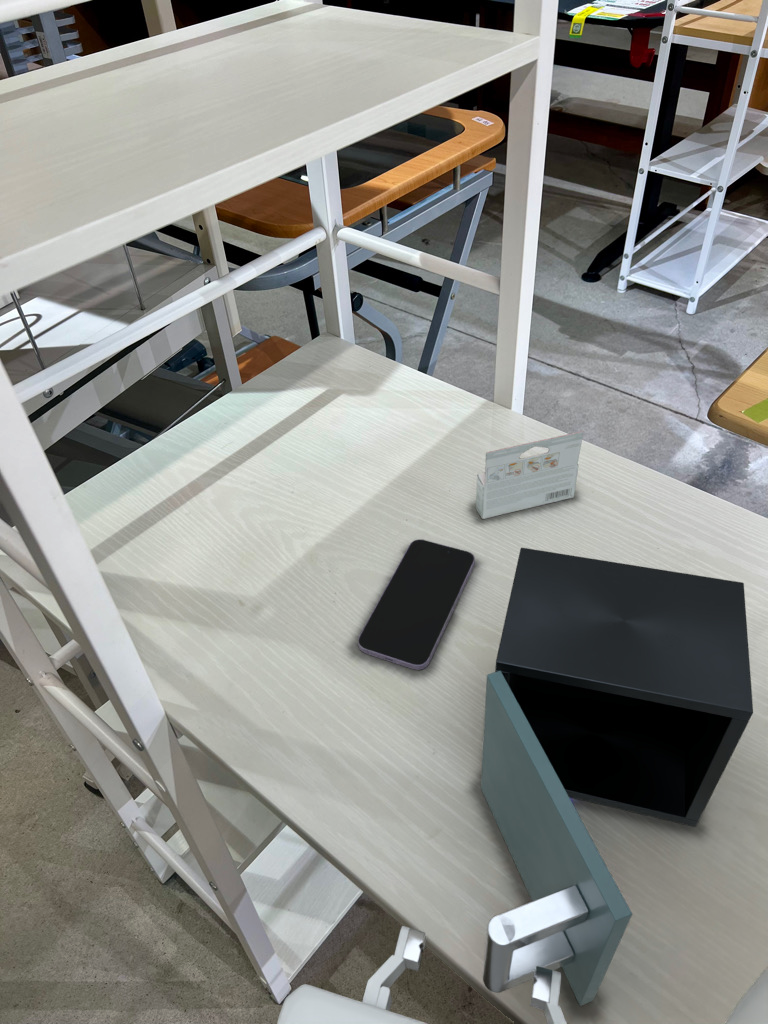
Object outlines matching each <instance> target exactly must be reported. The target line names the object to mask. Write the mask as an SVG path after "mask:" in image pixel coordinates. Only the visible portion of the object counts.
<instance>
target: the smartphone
mask: <svg viewBox="0 0 768 1024" xmlns="http://www.w3.org/2000/svg"><path fill="white" fill-rule="evenodd" d="M475 563H476V558H475V555H474V554H473V553H472V552H471V551H469V550H468V551H467V550H465V549H460V548H457V547H452V546H449V545H445V544H441V543H438V542H434V541H430V540H426V539H421V538H420V539H415V540H412V542H410V544H409V545H408V547H407V548H406V551H405V553H404V554H403V556H402V557H401V559H400V562H399V563H398V565H397V566H396V569H395V570H394V573H393V574H392V576H391V578H390V580H389V581H388V583H387V585H386V587H385V589H384V590H383V591H382V594H381V596H380V597H379V599H378V601H377V603H376V605H375V607H374V609H373V610H372V612H371V614H370V616H369V618H368V619H367V620H366V623H365V625H364V627H363V628H362V630H361V632H360V634H359V636H358V639H357V646H358V649H359V650H360V652H362V653H363V654H366V655H369V656H372V657H374V658H377V659H381V660H384V661H387V662H389V663H393V664H396V665H399V666H402V667H405V668H409V669H411V670H415V671H416V670H417V671H421V670H424V669H426V668H427V667H428V666H429V665H430V663H431V661H432V658H433V656H434V654H435V652H436V650H437V648H438V645H439V643H440V641H441V639H442V636H443V635H444V632H445V631H446V628H447V626H448V625H449V622H450V620H451V617H452V615H453V613H454V611H455V609H456V606H457V604H458V602H459V600H460V598H461V596H462V594H463V592H464V589H465V588H466V585H467V582H468V580H469V578H470V576H471V574H472V573H473V570H474V568H475Z"/></svg>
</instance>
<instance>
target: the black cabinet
mask: <svg viewBox="0 0 768 1024" xmlns="http://www.w3.org/2000/svg"><path fill="white" fill-rule="evenodd" d="M515 567H516V568H515V572H514V576H513V581H512V584H511V585H512V586H511V592H510V595H509V600H508V603H507V608H506V613H505V618H504V623H503V628H502V632H501V637H500V641H499V645H498V650H497V654H496V659H495V669H494V672H497V671H501V673H502V674H503V676H504V678H505V680H506V682H507V684H508V685H509V687H510V689H511V691H512V693H513V695H514V697H515V698H516V700H517V702H518V704H519V706H520V708H521V709H522V711H523V713H524V715H525V717H526V719H527V720H528V722H529V724H530V726H531V728H532V730H533V732H534V733H535V735H536V737H537V739H538V741H539V743H540V744H541V746H542V748H543V750H544V752H545V754H546V756H547V757H548V759H549V761H550V763H551V765H552V767H553V768H554V770H555V772H556V774H557V776H558V778H559V780H560V781H561V783H562V785H563V787H564V789H565V791H566V792H567V794H568V796H569V798H570V799H571V798H572V799H576V800H580V801H584V802H589V803H592V804H597V805H600V806H604V807H605V806H606V807H609V808H614V809H617V810H621V811H626V812H631V813H633V814H634V813H635V814H639V815H643V816H648V817H650V818H651V817H652V818H655V819H660V820H665V821H667V822H668V821H669V822H673V823H678V824H681V825H685V826H689V827H693V828H696V827H697V825H698V823H699V821H700V820H701V818H702V815H703V814H704V812H705V809H706V807H707V805H708V803H709V801H710V799H711V797H712V795H713V793H714V791H715V790H716V788H717V785H718V784H719V782H720V780H721V778H722V776H723V774H724V772H725V770H726V768H727V765H728V764H729V762H730V761H731V758H732V756H733V754H734V752H735V750H736V748H737V746H738V744H739V742H740V741H741V739H742V736H743V734H744V732H745V730H746V728H747V726H748V724H749V722H750V720H751V718H752V716H753V714H754V707H753V705H754V704H753V691H752V690H753V689H752V678H751V676H752V675H751V665H750V651H749V636H748V622H747V608H746V594H745V583H744V582H740V581H736V580H730V579H723V578H716V577H710V576H705V575H704V576H703V575H698V574H692V573H691V574H690V573H684V572H679V571H671V570H665V569H659V568H653V567H649V566H648V567H647V566H641V565H634V564H627V563H623V562H622V563H621V562H616V561H608V560H603V559H596V558H590V557H585V556H584V557H583V556H577V555H571V554H565V553H558V552H552V551H545V550H541V549H540V550H539V549H535V548H527V547H520V550H519V553H518V558H517V563H516V566H515Z"/></svg>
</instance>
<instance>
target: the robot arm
mask: <svg viewBox="0 0 768 1024" xmlns="http://www.w3.org/2000/svg"><path fill="white" fill-rule="evenodd" d="M426 940H427V938H426V932H424V931H421V930H418V929H415V928H412V927H408V926H405V925H402V926H401V927H400V930H399V934H398V939H397V942H396V945H395V946H396V947H395V951H394V954H391V955H390V956H389V957H388V959H387V960H386V961H384V963H383V964H382V965H380V967H379V968H378V969H377V970H376V971H375V972H374V974H373V975H371V976H370V978H368V980H367V982H366V987H365V990H364V994H363V997H362V1001H360V1000H357V999H355V998H352V997H351V998H350V997H347V996H344V995H341V994H338V993H335V992H333V991H330V990H326V989H323V988H321V987H317V986H314V985H311V984H307V983H304V984H301V985H300V986H298V987H297V988H295V989H294V990H293V991H292V992H291V993H289V995H287V996H286V997H285V999H284V1001H283V1003H282V1005H281V1008H280V1011H279V1015H278V1019H277V1022H276V1024H429V1023H427V1022H424V1021H422V1020H418V1019H416V1018H413V1017H409V1016H406V1015H403V1014H400V1013H397V1012H394V1011H391V1007H392V1003H393V1000H392V999H393V998H392V993H391V989H390V988H391V987H392V986H393V985H394V983H395V982H396V981H397V980H398V979H399V977H401V976H402V974H403V973H404V972H405V971H406V969H408V970H412V971H415V972H420V968H421V964H422V959H423V958H422V954H424V951H425V946H426ZM561 982H562V972H560V971H557V970H556V969H555V970H550V969H547V968H543V967H539V966H536V967H535V972H534V978H533V979H532V989H531V994H530V1002H529V1006H530V1007H532V1008H536V1009H538V1010H541V1011H543V1013H544V1017H545V1019H546V1022H547V1024H568V1023H567V1020H566V1017H565V1014H564V1013H563V1009H562V1007H561V1006H560V1005H559V1003H560V1002H559V1001H560V991H561ZM724 1024H768V965H767V966H766V967H765V968H764V970H763V971H762V972H761V973H760V975H759V976H758V977H757V978H756V979H755V980H754V981H753V983H752V984H751V985H750V986H749V987H748V989H747V990H746V991H745V992H744V994H743V995H742V997H741V998H740V999H739V1001H738V1002H737V1004H736V1005H735V1007H734V1008H733V1009H732V1011H731V1013H730V1014H729V1015H728V1018H727V1019H726V1020H725V1022H724Z"/></svg>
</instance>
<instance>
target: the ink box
mask: <svg viewBox="0 0 768 1024" xmlns="http://www.w3.org/2000/svg"><path fill="white" fill-rule="evenodd" d="M583 437H584V430H581V431H577V432H573V433H569V434H568V433H567V434H563V435H558V436H555V437H550V438H545V439H541V440H536V441H531V442H527V443H522V444H518V445H513V446H508V447H504V448H499V449H495V450H492V451H491V450H490V451H487V452H485V467H484V472H480V473H478V474H476V487H475V489H476V490H475V492H476V493H475V494H476V495H475V509H476V511H477V513H478V515H479V516H480V518H481V519H482V520H486V519H489V518H493V517H497V516H501V515H502V516H503V515H506V514H510V513H514V512H518V511H522V510H523V511H524V510H527V509H531V508H535V507H540V506H544V505H548V504H553V503H556V502H561V501H564V500H568V499H573V498H574V497H575V492H576V488H577V487H576V485H577V479H578V472H579V468H580V467H579V466H580V465H579V460H580V453H581V448H582V442H583ZM535 447H537V448H544V449H548V451H547V452H542V453H538V454H534V455H530V456H525V457H521V455H522V454H524V453H526V452H527V451H529V450H531V449H533V448H535Z"/></svg>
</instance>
